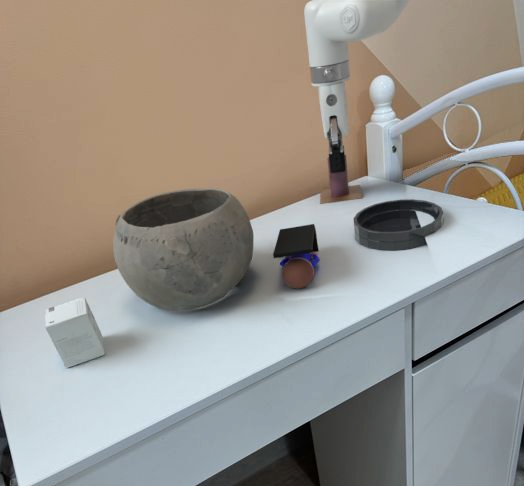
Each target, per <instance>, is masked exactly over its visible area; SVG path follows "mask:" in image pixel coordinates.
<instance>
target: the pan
mask: <svg viewBox="0 0 524 486" xmlns="http://www.w3.org/2000/svg"><path fill="white" fill-rule="evenodd" d="M417 212H421V213H422V214H423V213H424V214H427V215H429V216H430V217H431V218H433V221H432V222H430V223H428V224H426V225H422V226H421V223H420V220H419V216H418V214H417ZM444 215H445V214H444V209H443V208H442V207H441V206H440V205H438V204H437V203H434V202H432V201H428V200H425V199H423V200H422V199H413V198H411V199H410V198H406V199H405V198H403V199H393V200H387V201H382V202H378V203H374V204H372V205H369V206H367V207H364V208H363V209H361V210H360V211H358V212H357V213H356V214H355V216H354V217H353V230H354V240H355V241H356V242H357V243H358V244H359V245H360V246H363V247H365V248H369V249H372V250H377V251H378V250H379V251H402V250H411V249H415V248H419V247H422V246H426V245H427V244H428V242H427V240H426V237H428V236H430V235H432V234H434V233H436V232H437V231H438V230H440V229H441V228H442V227H443V224H444Z"/></svg>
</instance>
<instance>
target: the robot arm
mask: <svg viewBox="0 0 524 486" xmlns="http://www.w3.org/2000/svg"><path fill="white" fill-rule="evenodd" d="M410 1H411V0H310V1H308V2H307V3H306V4H305V5H304V9H303V15H304V25H305V35H306V45H307V53H308V63H309V74H310V83H311V87H315V88H317V91H318V92H317V93H318V101H319V109H320V116H321V125H322V131H323V134H324V138H325V139H326V140H327V141H328V157H329V163H330V172H331V173H338V172H344V171H345V170H346V169H345V156H344V155H346V153H345V150H344V151H343V148H344V149H345V145H343V144H344V143H343V136H345V137H346V138H347V137H348V136H349V135H350V130H349V117H348V116H349V115H348V114H349V113H348V100H347V89H346V88H347V87H346V82H347V81H349V80H350V79H351V75H350V73H351V72H350V60H349V58H350V57H349V43H356V42H361V41H364V40H366V39H369V38H371V37H373V36H376V35H378V34H381V33H384V32H385V31H387V30H388V29H389V28H391V27H392V26H393V24H394V23H395V22H396V21H397V20H398V18H399V17H400V16H401V14H402V13H403V11H404V10H405V8H406V7H407V5H408V4H409V2H410ZM342 145H343V146H342ZM329 151H330V153H329Z"/></svg>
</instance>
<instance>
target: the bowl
mask: <svg viewBox="0 0 524 486" xmlns="http://www.w3.org/2000/svg"><path fill="white" fill-rule="evenodd" d="M114 231H115V232H114V234H113V241H112V242H113V243H112V246H113V247H112V248H113V249H112V250H113V257H114V262H115V265H116V267H117V269H118V272H119V274H120V276H121V277H122V279H123V280H124V282H125V284H126V285H127V286H128V288H129V289H130V290H131V291H132V292H133V293H134V294H135V295H136V296H137V297H138V298H140V299H141V300H142V301H143V302H145V303H147V304H148V305H151V306H153V307H155V308H158V309H160V310H166V311H187V310H194V309H199V308H203V307H206V306H208V305H210V304H213V303H215V302H217V301H219V300H221V299H222V298H224V297H225V296H226V295H228V294H229V293H230V292H231V291H233V289H234V288H235V287H236V286H237V285H238V284H239V282H240V281H241V280H242V279H243V277H244V276H245V275H246V273H247V271H248V269H249V268H250V265H251V262H252V259H253V254H254V235H255V234H254V229H253V227H252V223H251V220H250V217H249V215H248V213H247V211H246V210H245V207H244V206H243V204H242V203H241V202H240V200H239V199H238V198H237V197H236V196H235V195H233V194H232V193H230V192H228V191H227V190H224V189H222V188H214V187H199V188H185V189H178V190H177V189H176V190H170V191H166V192H161V193H157V194H154V195H151V196H149V197H147V198H144V199H142V200H140V201H138V202H136V203H134V204H132V205H130V206H129V207H128V208H126V209H124V210H123V211H122V213H121V214H118V216H117V218H116V220H115V230H114Z"/></svg>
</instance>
